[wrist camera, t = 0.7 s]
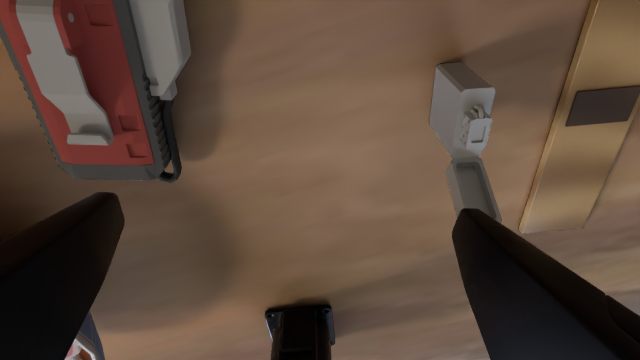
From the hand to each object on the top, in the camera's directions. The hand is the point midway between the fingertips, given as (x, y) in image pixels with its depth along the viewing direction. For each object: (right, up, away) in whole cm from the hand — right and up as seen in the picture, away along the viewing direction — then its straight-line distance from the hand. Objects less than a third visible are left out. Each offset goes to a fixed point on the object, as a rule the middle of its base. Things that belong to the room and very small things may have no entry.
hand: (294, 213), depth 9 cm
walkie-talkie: (-11, +10, +10) cm, 18 cm away
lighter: (+9, +5, +14) cm, 18 cm away
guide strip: (+19, +6, +14) cm, 24 cm away
